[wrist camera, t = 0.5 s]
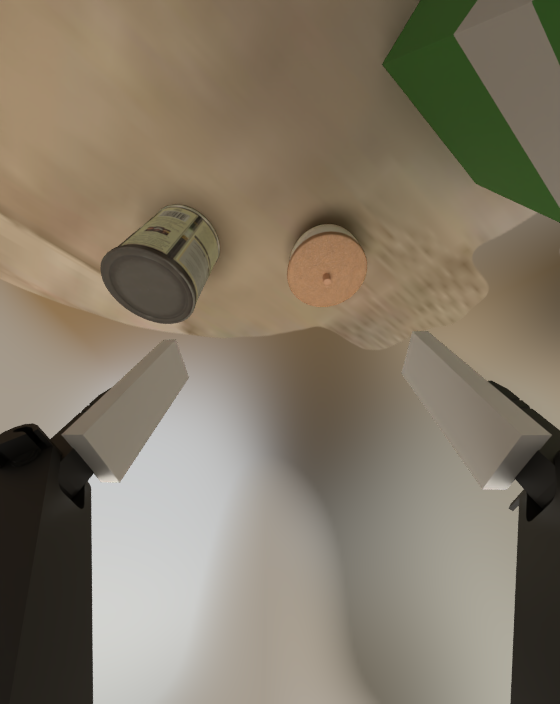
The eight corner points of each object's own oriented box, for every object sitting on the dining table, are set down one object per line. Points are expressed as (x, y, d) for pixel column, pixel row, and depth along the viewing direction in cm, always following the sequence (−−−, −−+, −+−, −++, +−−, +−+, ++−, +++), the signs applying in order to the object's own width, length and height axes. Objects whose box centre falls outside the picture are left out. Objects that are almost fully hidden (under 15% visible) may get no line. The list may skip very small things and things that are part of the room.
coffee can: (180, 277, 40) (145, 330, 31) (138, 216, 33) (76, 261, 24) (231, 263, 38) (210, 316, 29) (198, 193, 31) (156, 234, 21)
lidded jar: (274, 251, 36) (270, 282, 30) (327, 193, 30) (335, 218, 24) (317, 291, 41) (321, 325, 35) (370, 249, 35) (386, 281, 29)
